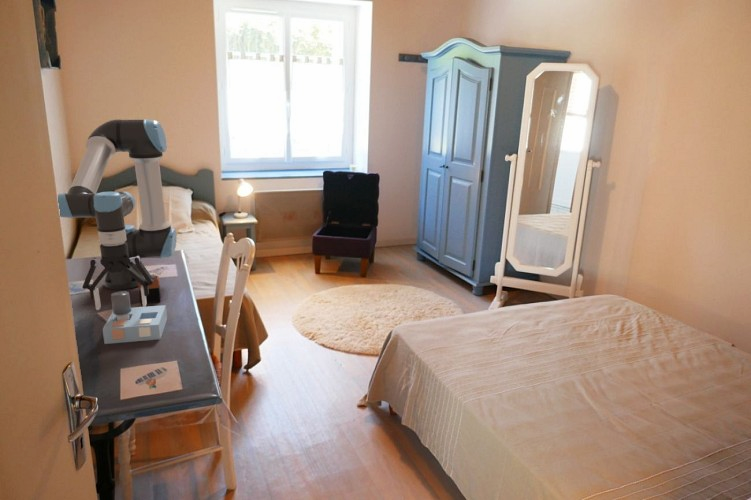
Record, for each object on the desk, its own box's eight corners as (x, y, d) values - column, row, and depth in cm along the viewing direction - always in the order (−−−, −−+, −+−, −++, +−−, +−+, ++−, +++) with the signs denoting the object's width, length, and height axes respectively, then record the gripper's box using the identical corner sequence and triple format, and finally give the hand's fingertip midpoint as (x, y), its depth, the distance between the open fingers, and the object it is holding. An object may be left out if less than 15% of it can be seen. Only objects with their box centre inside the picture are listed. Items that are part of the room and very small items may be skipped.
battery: (160, 302, 192) (157, 276, 189) (140, 304, 189) (137, 278, 186) (160, 298, 195) (158, 273, 193) (141, 300, 193) (138, 274, 190)
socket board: (116, 322, 174) (114, 307, 172) (167, 318, 177) (165, 304, 176) (104, 344, 158) (101, 328, 157) (160, 339, 162) (158, 324, 161)
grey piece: (117, 326, 169) (113, 291, 165) (134, 324, 170) (130, 290, 167) (113, 333, 164) (109, 297, 161) (131, 331, 165) (127, 296, 162)
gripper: (64, 248, 152) (75, 314, 159) (154, 244, 158) (162, 308, 165) (72, 241, 159) (82, 305, 166) (158, 237, 165) (165, 299, 171)
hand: (122, 306), depth 165 cm, fingers open, 13 cm apart
